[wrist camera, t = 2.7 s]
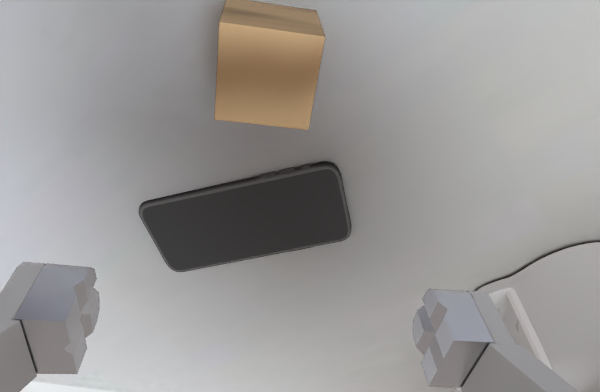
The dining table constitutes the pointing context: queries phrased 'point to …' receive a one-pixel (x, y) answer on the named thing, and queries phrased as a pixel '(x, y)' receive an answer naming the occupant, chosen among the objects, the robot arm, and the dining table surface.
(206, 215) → the smartphone
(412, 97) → the dining table surface
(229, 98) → the oversize block
